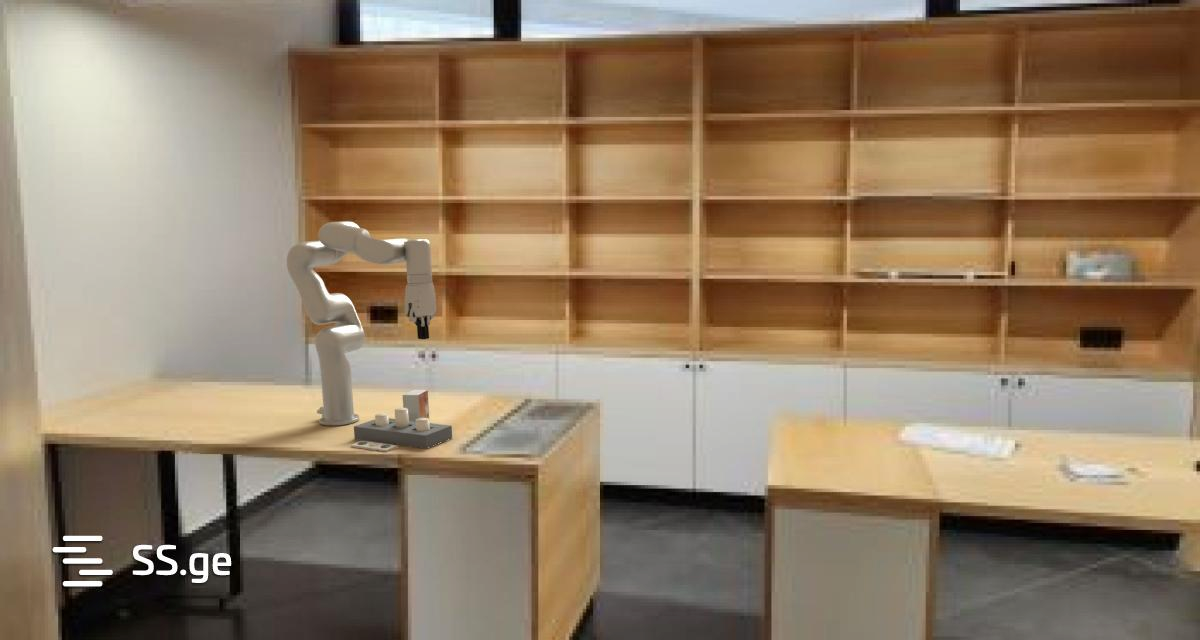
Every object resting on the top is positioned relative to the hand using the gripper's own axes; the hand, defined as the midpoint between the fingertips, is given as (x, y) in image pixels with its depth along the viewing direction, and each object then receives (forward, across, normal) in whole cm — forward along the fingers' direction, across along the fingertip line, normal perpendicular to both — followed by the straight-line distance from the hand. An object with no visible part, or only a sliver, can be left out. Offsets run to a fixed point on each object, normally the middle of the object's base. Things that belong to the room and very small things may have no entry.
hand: (423, 338), depth 286 cm
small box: (+29, -5, -9) cm, 31 cm away
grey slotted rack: (+29, +11, -1) cm, 31 cm away
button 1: (+29, +11, -9) cm, 32 cm away
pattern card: (+29, +22, -3) cm, 36 cm away
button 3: (+29, +11, +7) cm, 32 cm away
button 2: (+27, +11, -1) cm, 29 cm away
